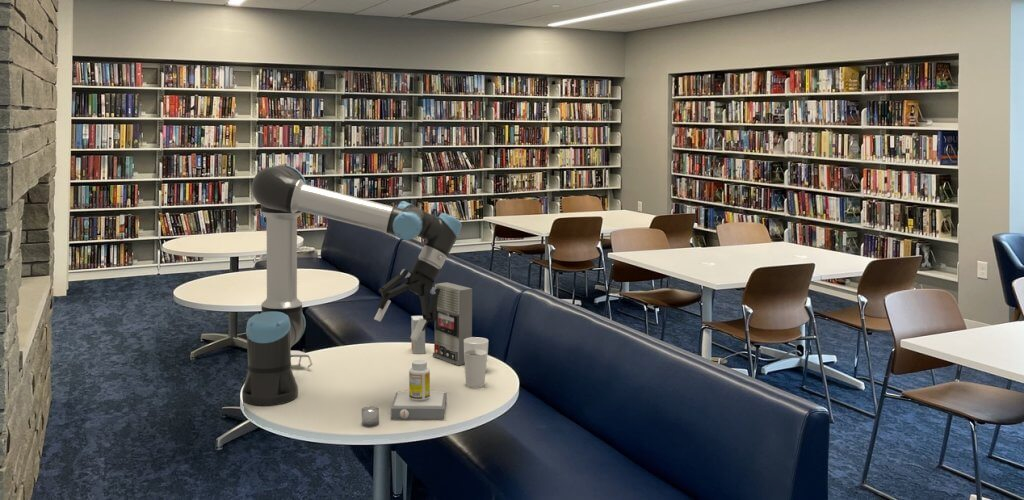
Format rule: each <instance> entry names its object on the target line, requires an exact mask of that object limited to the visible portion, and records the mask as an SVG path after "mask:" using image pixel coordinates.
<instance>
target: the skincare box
mask: <svg viewBox="0 0 1024 500" xmlns="http://www.w3.org/2000/svg"><path fill="white" fill-rule="evenodd" d="M410 317H411V320H410V321H411V326H410V328H411V329H410V330H411V335H412V333H413V331H414V329H415V327H416V325H417V323H418V321H419V319H420V318H422V319H423V315H411V316H410ZM411 335H410V336H411ZM411 351H412V354H414V355H415V354H416V355H417V354H418V355H419V354H425V353H426V329H425V330H424V331H421V333H420V335H419V337H418V339H417V341H416V340H413V339H411Z"/></svg>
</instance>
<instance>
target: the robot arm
mask: <svg viewBox="0 0 1024 500" xmlns="http://www.w3.org/2000/svg"><path fill="white" fill-rule="evenodd" d="M251 193H252V195H253V197H254V199H255V201H256V202H257V203H258V204H259V205H260V213H261V214H262V215H263V216H264V217H265V219H266V299H265V300H263V301H262V302H261V305H260V306H261V312H260V313H255V314H254V315H252V316H251V317H250V318H248V320H247V321H246V329H245V334H246V348H247V349H246V351H247V374H246V378H245V381H244V384H243V388H242V389H241V390H242V391H241V392H242V394H241V397H242V401H243V402H244V403H246V404H249V405H253V406H274V405H275V406H276V405H280V404H286V403H288V402H292V401H293V400H295V399H297V398H298V395H299V388H298V387H299V386H298V384H297V382H296V378H295V375H294V374H293V370H292V368H291V367H292V359H291V358H292V357H291V351H292V350H291V349H292V347H293V346H295V344H297V343H298V342H299V341H300V340H301V338H302V337H303V335H304V334H305V330H306V324H307V322H306V318H305V315H304V314H303V302H302V301H301V300H300V299H299V298H298V281H297V280H298V218H299V217H300V216H301V215H302V214H303V213H306V214H310V215H315V216H319V217H323V218H326V219H331V220H333V221H339V222H342V223H346V224H350V225H355V226H359V227H361V228H365V229H366V228H367V229H370V230H375V231H378V232H381V233H386V234H389V235H391V236H392V235H394V236H397V238H399V239H401V240H403V241H404V240H405V241H408V240H409V241H410V240H413V239H414V238H417V237H418V238H421V240H425V243H424V245H423V247H422V249H421V251H420V253H419V254H418V259H417V260H415V263H414V264H413V267H412V268H411V271H410V272H409V269H406V268H401V269H400V270H399V272H398V273H397V275H396V276H394V277H393V278H391V279H390V280H389V281H388V282H386V283H385V284H384V285H383V286H381V288H379V289H378V293H380V295H381V299H380V301H379V302H378V305H377V308H378V309H377V312H376V314H375V316H374V318H373V320H375V321H378V322H381V321H382V319H383V318H384V316H385V314H386V312H387V310H388V309H389V306H390V304H391V302H392V301H391V300H390V299H392V298H394V297H395V296H398V295H400V294H402V293H404V292H406V291H410V292H412V293H414V294H415V295H418V297H419V298H420V299H419V300H420V306H421V307H420V308H421V313H422V314H421V316H423V319H422V318H420V319H419V321H418V323H417V325H416V327H415V329H414V331H413V333H412V335H410V337H409V338H410V339H411V340H412V339H413V340H416V341H417V339H418V337H419V335H420V333H421V331H424V330H425V331H426V327H427V326H428V324H429V323H430V322H434V323H435V321H436V314H437V301H438V295H439V292H440V289H438V288H435V286H433V284H434V283H435V281H436V280H437V278H438V277H439V274H440V272H441V271H440V269H442V267H443V266H444V264H445V262H446V260H447V258H448V256H449V254H450V252H451V250H452V249H453V247H454V245H455V242H456V241H457V238H458V237H459V234H460V232H461V229H462V227H463V225H462V224H463V223H462V222H461V221H460V220H459V218H457V217H454V216H453V215H450V214H448V213H444V212H441V213H440V214H439V216H435V215H433V214H430V213H429V212H427V211H425V210H423V209H422V208H419V207H418V206H416V205H414V204H413V203H409V202H407V201H405V200H403V201H402V200H401V201H400V202H399V204H398V206H397V207H395V206H391V205H387V204H384V203H380V202H376V201H372V200H368V199H364V198H360V197H357V196H353V195H349V194H345V193H341V192H336V191H334V190H333V191H332V190H331V189H325V188H321V187H317V186H315V185H310V184H307V183H306V179H305V177H304V175H303V174H302V172H300V171H299V170H298V169H297V168H295V167H293V166H291V165H284V164H283V165H282V164H281V165H279V164H278V165H274V166H269V167H266V168H263V169H261V170H260V171H258V172H257V174H256V175H255V176H254V178H253V180H252V183H251ZM404 279H407V281H406V282H404V283H402V284H401V285H399V286H397V285H398V284H400V283H401V282H402V281H403V280H404ZM396 286H397V287H396ZM429 293H430V295H429Z"/></svg>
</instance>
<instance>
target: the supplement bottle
mask: <svg viewBox="0 0 1024 500" xmlns="http://www.w3.org/2000/svg"><path fill="white" fill-rule="evenodd" d="M408 373H409V374H408V377H409V378H408V379H409V380H408V382H409V383H408V384H409V385H408V387H409V388H408V391H409V397H410V399H412V400H415V401H423V400H427V399H428V398H429V397H430V391H431V383H430V382H431V380H430V379H431V377H430V376H431V370H430V368H429V367H428V362H427V360H425V359H415V360H413V361H411V368H409V370H408Z"/></svg>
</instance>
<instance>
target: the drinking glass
mask: <svg viewBox="0 0 1024 500" xmlns="http://www.w3.org/2000/svg"><path fill="white" fill-rule="evenodd" d="M486 364H487V363H486V351H484V350H476V349H473V350H467V351H465V364H464V373H465V375H464V377H465V380H464V381H465V386H466V387H468V388H473V389H474V388H482V387H484V386H485V385H486V384H485V383H486V371H485V369H486V370H487V367H486Z"/></svg>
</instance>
